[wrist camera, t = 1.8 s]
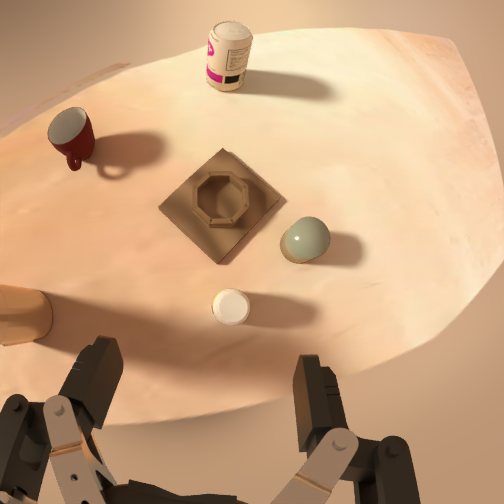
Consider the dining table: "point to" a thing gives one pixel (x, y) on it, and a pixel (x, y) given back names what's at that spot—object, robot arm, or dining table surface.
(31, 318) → the robot arm
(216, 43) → the supplement can
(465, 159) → the dining table surface
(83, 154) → the mug
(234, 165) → the caddy
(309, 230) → the sage green domed cylinder
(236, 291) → the supplement bottle
